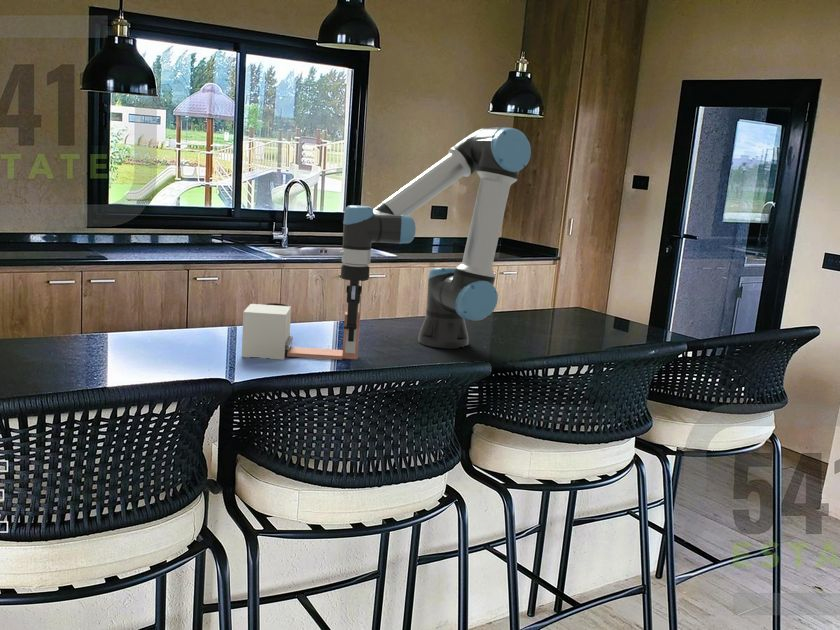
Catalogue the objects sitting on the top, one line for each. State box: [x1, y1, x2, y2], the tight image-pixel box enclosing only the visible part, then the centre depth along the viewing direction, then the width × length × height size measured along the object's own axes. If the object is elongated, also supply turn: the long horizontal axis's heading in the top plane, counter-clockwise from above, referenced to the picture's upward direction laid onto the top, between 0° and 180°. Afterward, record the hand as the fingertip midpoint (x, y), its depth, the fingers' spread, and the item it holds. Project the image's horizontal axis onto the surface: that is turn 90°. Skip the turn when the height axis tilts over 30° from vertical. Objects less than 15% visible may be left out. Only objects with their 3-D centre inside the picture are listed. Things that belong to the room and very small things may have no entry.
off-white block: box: [241, 303, 294, 361], centre depth 225 cm, size 12×12×12 cm
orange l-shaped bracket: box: [286, 311, 361, 361], centre depth 226 cm, size 18×7×12 cm, turn 92°
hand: (350, 350), depth 227 cm, fingers open, 4 cm apart
